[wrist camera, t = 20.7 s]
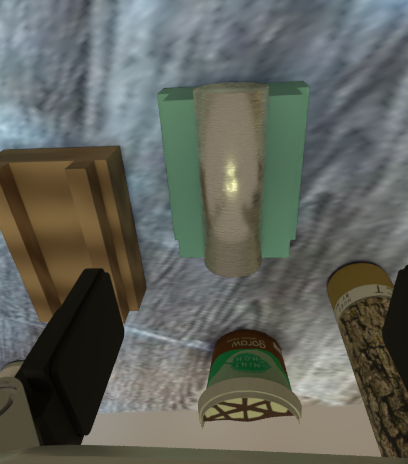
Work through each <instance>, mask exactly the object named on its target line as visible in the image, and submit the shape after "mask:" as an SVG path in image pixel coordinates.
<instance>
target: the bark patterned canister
mask: <svg viewBox="0 0 408 464" xmlns="http://www.w3.org/2000/svg"><path fill="white" fill-rule="evenodd" d="M393 289H394V285H393V283H392V281H391V280H390V278H389V276H388V275H387V273H386V272H385V271H384V270H383V269H381V268H380V267H378V266H376V265H373V264H368V263H355V264H350V265H347V266H345V267H343V268H341V269H340V270H338V271H337V272H336V273H335V274H334V275H333V276H332V278H331V279H330V281H329V283H328V287H327V291H328V296H329V299H330V302H331V305H332V308H333V311H334V314H335V318H336V321H337V324H338V327H339V330H340V333H341V336H342V339H343V342H344V345H345V348H346V351H347V354H348V357H349V360H350V363H351V366H352V369H353V372H354V375H355V378H356V381H357V384H358V387H359V390H360V393H361V396H362V399H363V402H364V405H365V408H366V411H367V414H368V417H369V420H370V423H371V426H372V429H373V432H374V435H375V438H376V441H377V444H378V447H379V450H380V453H381V456H382V457H393V458H408V392H407V390H406V388H405V386H404V384H403V382H402V380H401V378H400V375H399V373H398V371H397V369H396V367H395V365H394V363H393V361H392V359H391V356H390V354H389V352H388V350H387V348H386V346H385V344H384V342H383V338H382V329H383V325H384V322H385V318H386V314H387V311H388V307H389V304H390V300H391V297H392V293H393Z"/></svg>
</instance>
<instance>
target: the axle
mask: <svg viewBox="0 0 408 464" xmlns="http://www.w3.org/2000/svg"><path fill="white" fill-rule="evenodd" d="M193 97H194V112H195V127H196V142H197V157H198V172H199V186H200V201H201V216H202V231H203V246H204V261H205V265H206V267H207V268H208V269H209V270H210V271H211V272H213V273H215V274H217V275H220V276H224V277H243V276H247V275H249V274H252V273H254V272H255V271H256V270H258V269H259V267H260V266H261V263H262V247H263V222H264V197H265V173H266V148H267V123H268V99H269V86H268V85H267V84H263V83H255V82H228V83H216V84H209V85H204V86H199V87H196V88H194V89H193Z"/></svg>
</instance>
